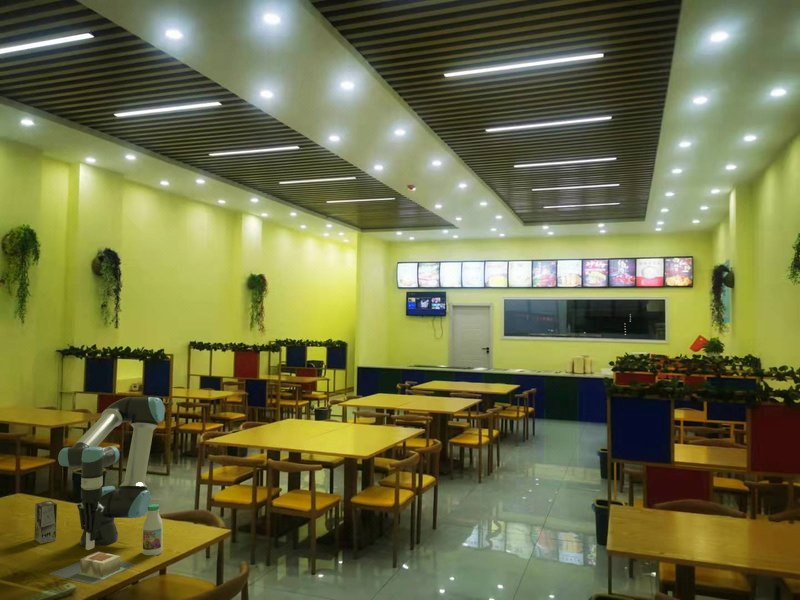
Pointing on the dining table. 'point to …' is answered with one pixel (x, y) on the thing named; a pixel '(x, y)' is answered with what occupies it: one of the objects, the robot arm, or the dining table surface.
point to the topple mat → (75, 573)
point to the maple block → (100, 564)
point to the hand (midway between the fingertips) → (90, 548)
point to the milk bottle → (153, 532)
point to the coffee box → (45, 521)
